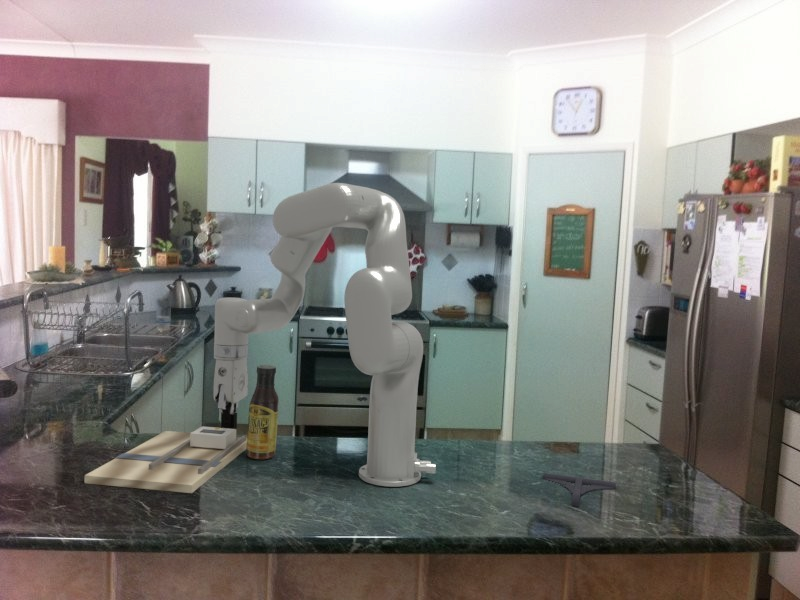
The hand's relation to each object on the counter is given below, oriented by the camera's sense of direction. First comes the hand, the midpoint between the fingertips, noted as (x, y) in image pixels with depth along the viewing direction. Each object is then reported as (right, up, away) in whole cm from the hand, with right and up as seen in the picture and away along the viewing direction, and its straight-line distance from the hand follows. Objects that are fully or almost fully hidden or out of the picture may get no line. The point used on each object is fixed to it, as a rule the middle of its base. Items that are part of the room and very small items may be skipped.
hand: (228, 429), depth 156 cm
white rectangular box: (-1, -1, -9) cm, 9 cm away
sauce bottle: (+10, -4, -10) cm, 14 cm away
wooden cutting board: (-7, -4, -16) cm, 18 cm away
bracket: (+74, -9, -24) cm, 78 cm away
